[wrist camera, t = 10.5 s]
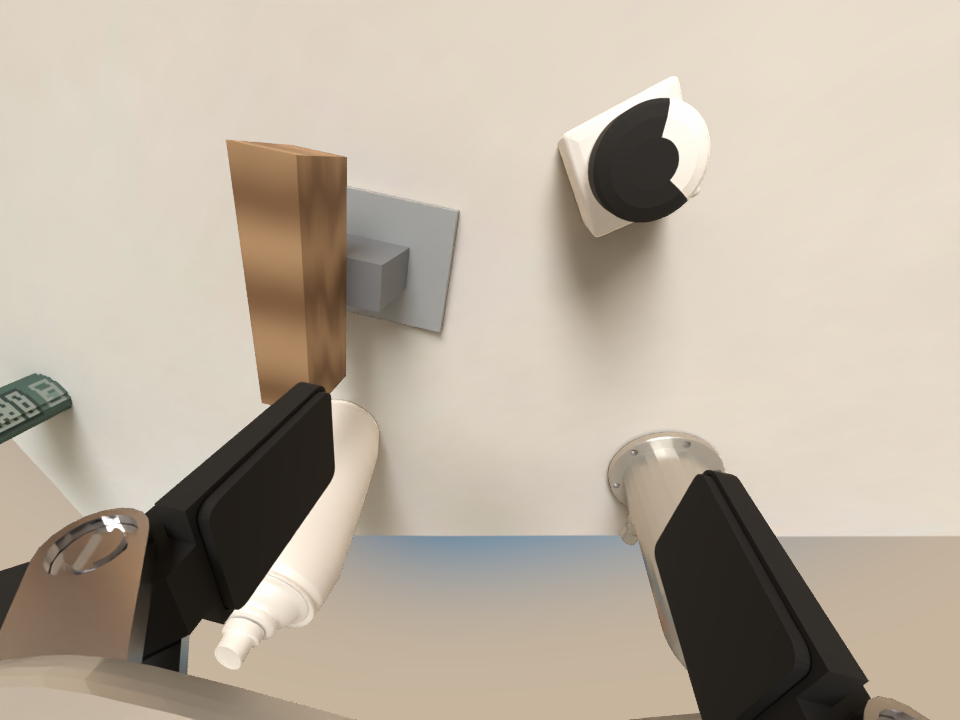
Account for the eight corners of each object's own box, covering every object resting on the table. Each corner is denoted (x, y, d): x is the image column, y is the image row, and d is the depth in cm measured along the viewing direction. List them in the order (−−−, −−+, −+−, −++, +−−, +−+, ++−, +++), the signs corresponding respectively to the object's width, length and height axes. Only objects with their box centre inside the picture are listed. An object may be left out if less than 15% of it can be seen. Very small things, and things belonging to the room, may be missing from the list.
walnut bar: (345, 375, 34) (310, 414, 28) (304, 366, 34) (261, 402, 29) (346, 157, 25) (296, 155, 20) (291, 145, 25) (226, 139, 20)
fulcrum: (442, 328, 39) (421, 364, 32) (281, 291, 40) (226, 318, 33) (459, 210, 33) (438, 222, 26) (270, 169, 34) (200, 170, 27)
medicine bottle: (584, 225, 32) (606, 254, 22) (556, 141, 30) (566, 128, 19) (669, 188, 30) (739, 200, 20) (647, 93, 27) (714, 48, 17)
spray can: (374, 385, 44) (211, 603, 22) (414, 450, 48) (312, 689, 26) (300, 409, 47) (97, 618, 25) (344, 468, 51) (201, 692, 30)
